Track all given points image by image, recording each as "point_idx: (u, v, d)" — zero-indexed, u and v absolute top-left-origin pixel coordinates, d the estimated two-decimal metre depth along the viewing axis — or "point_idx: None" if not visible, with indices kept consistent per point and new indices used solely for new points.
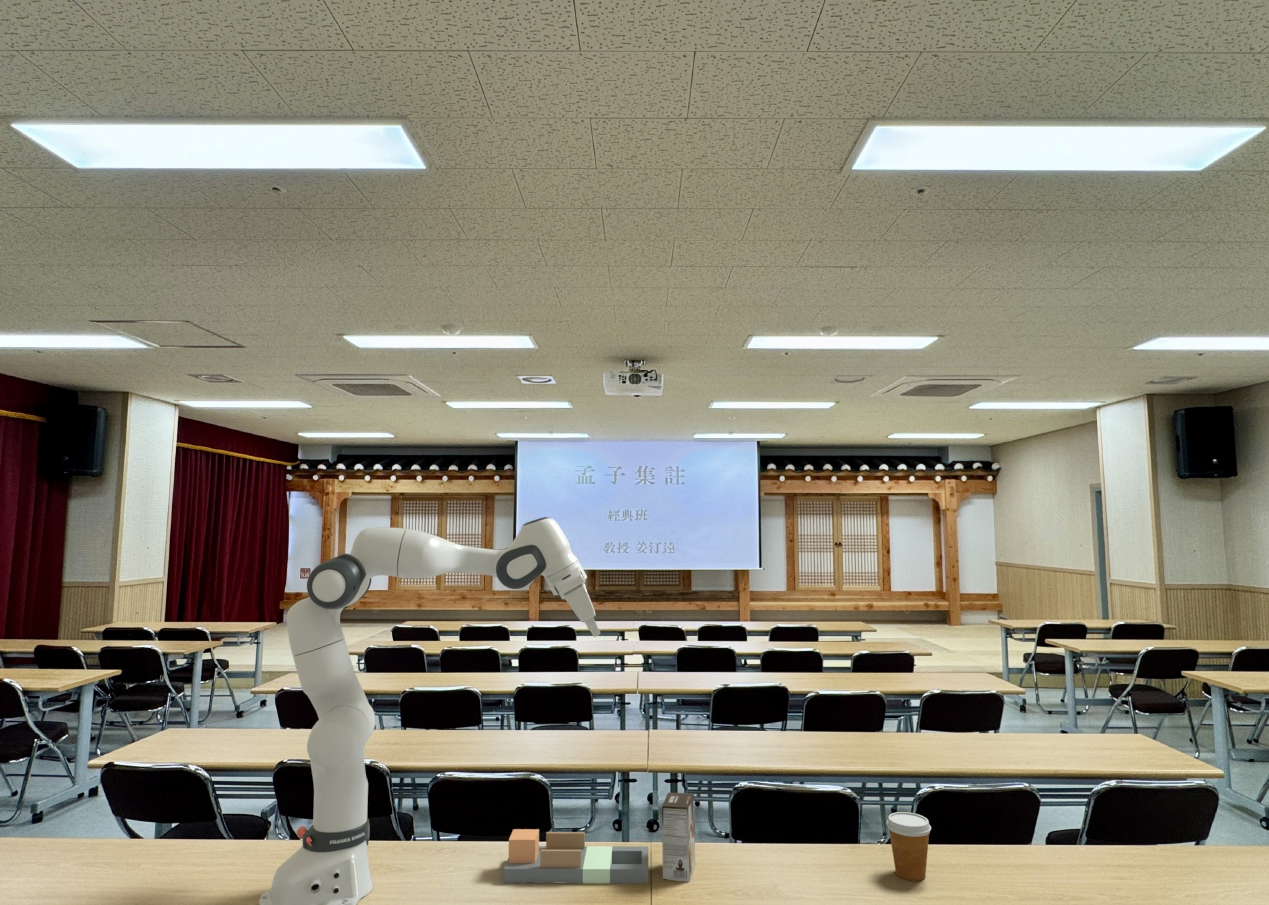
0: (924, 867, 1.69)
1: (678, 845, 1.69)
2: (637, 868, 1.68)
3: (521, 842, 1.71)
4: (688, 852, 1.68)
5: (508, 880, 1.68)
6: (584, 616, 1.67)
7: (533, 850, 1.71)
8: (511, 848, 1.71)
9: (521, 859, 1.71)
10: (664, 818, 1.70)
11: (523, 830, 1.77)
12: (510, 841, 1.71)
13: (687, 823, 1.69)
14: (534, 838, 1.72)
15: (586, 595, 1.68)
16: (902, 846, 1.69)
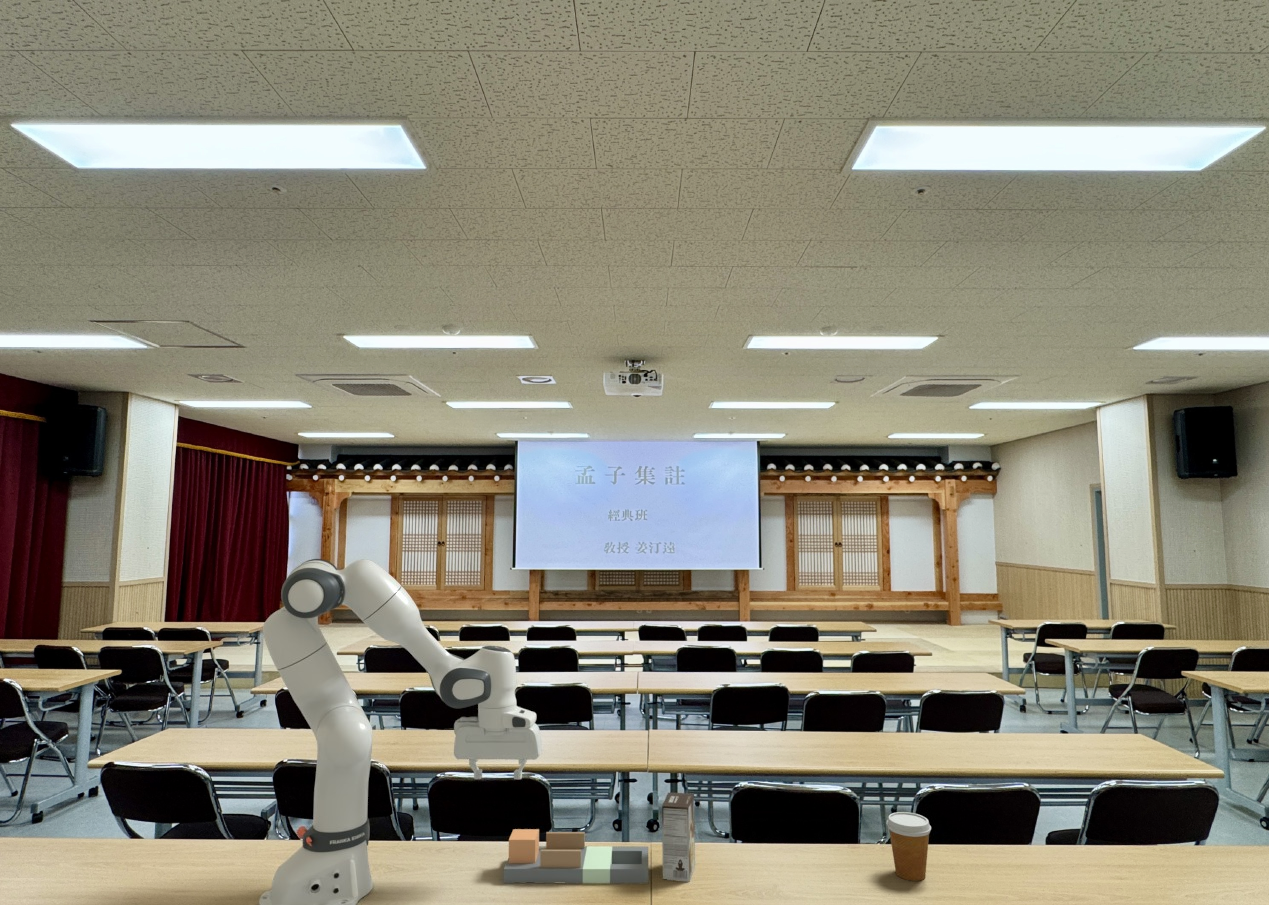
0: (924, 867, 1.69)
1: (678, 845, 1.69)
2: (637, 868, 1.68)
3: (521, 842, 1.71)
4: (688, 852, 1.68)
5: (508, 880, 1.68)
6: (539, 753, 1.74)
7: (533, 850, 1.71)
8: (511, 848, 1.71)
9: (521, 859, 1.71)
10: (664, 818, 1.70)
11: (523, 830, 1.77)
12: (510, 841, 1.71)
13: (687, 823, 1.69)
14: (534, 838, 1.72)
15: None
16: (902, 846, 1.69)
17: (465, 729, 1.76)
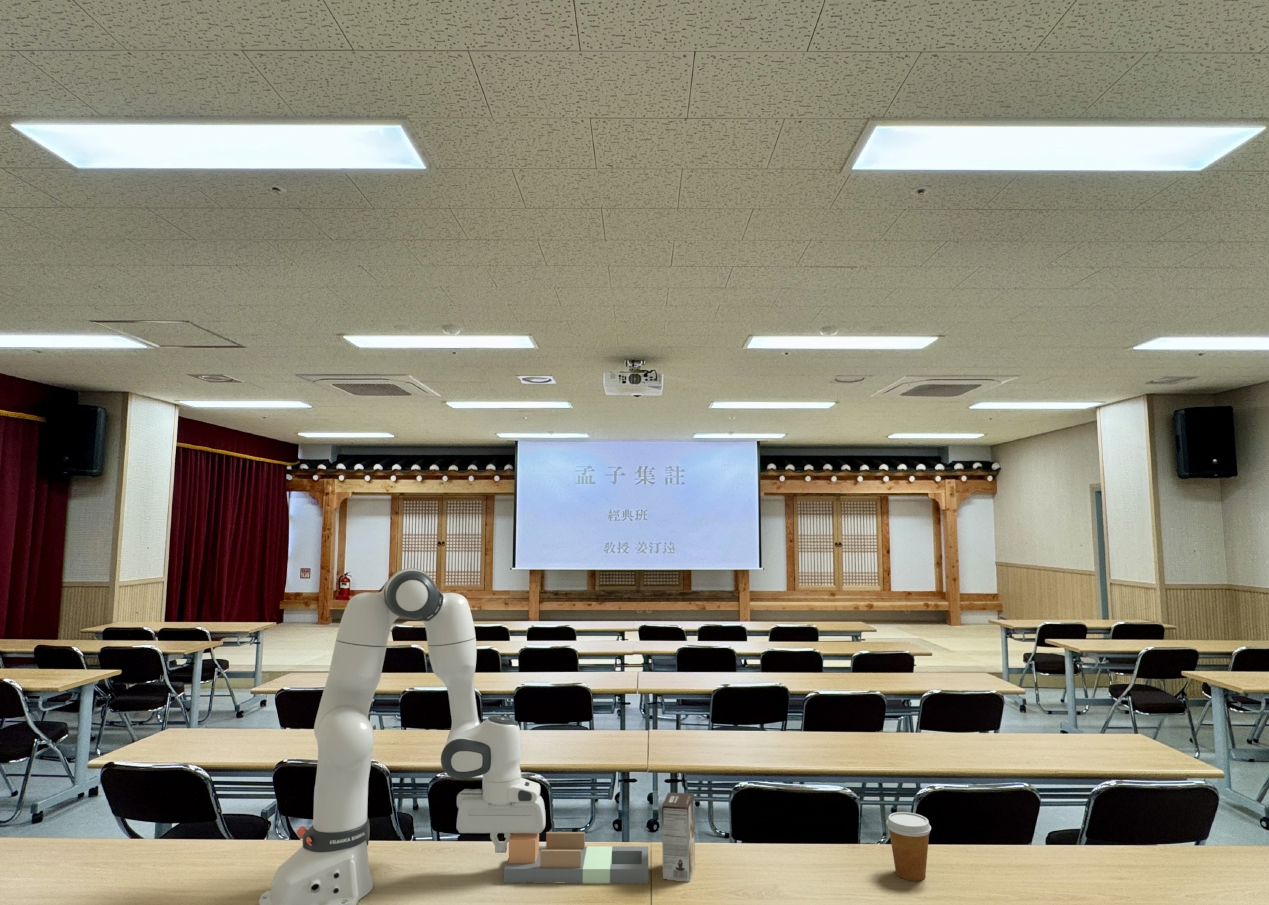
0: (924, 867, 1.69)
1: (678, 845, 1.69)
2: (637, 868, 1.68)
3: (521, 842, 1.71)
4: (688, 852, 1.68)
5: (508, 880, 1.68)
6: (544, 826, 1.74)
7: (533, 850, 1.71)
8: (511, 848, 1.71)
9: (521, 859, 1.71)
10: (664, 817, 1.70)
11: None
12: (510, 841, 1.71)
13: (687, 823, 1.69)
14: (534, 838, 1.72)
15: None
16: (902, 846, 1.69)
17: (469, 802, 1.74)
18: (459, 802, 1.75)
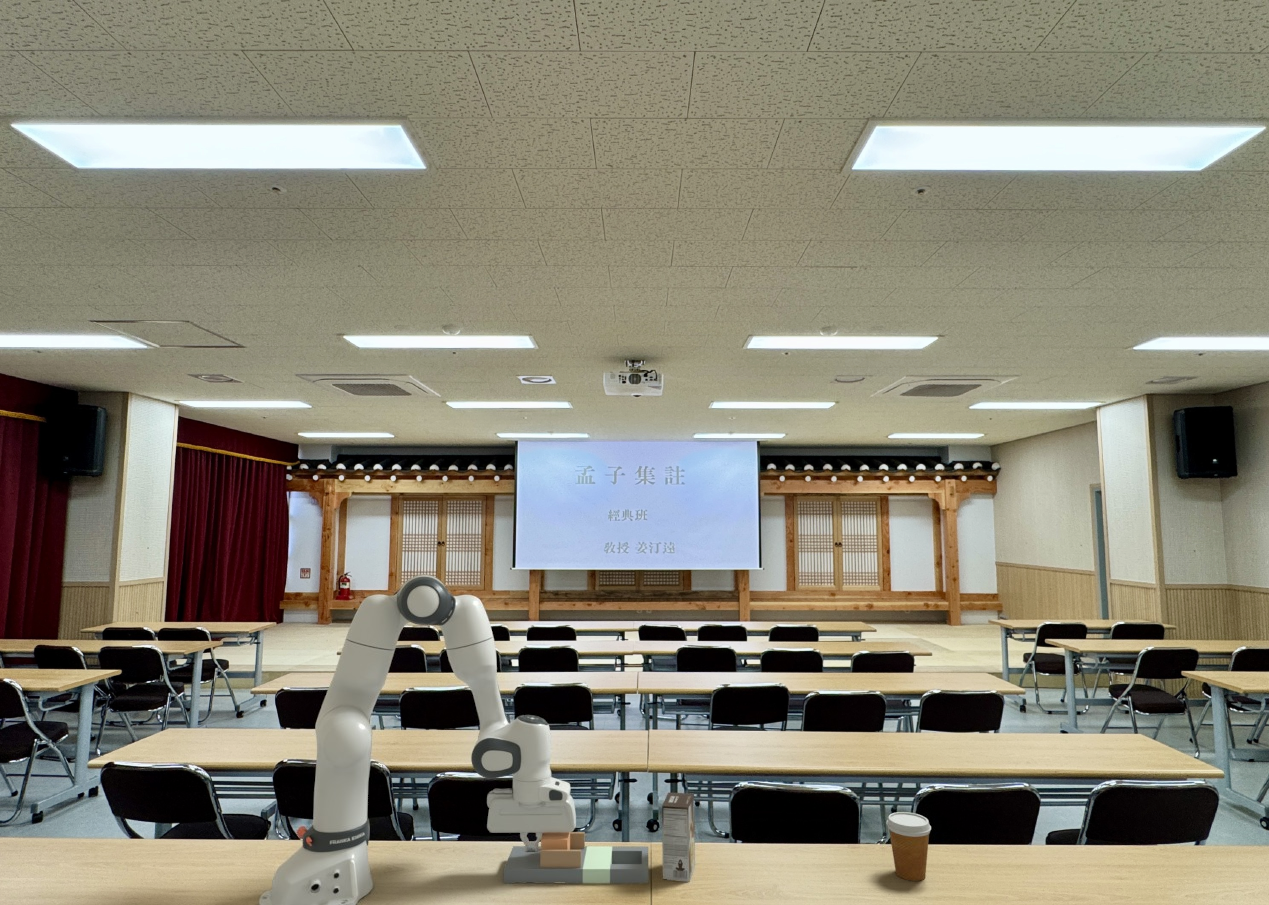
0: (924, 867, 1.69)
1: (678, 845, 1.69)
2: (637, 868, 1.68)
3: (553, 842, 1.71)
4: (688, 852, 1.68)
5: (508, 880, 1.68)
6: (575, 825, 1.74)
7: None
8: (543, 848, 1.71)
9: None
10: (664, 818, 1.70)
11: None
12: (542, 841, 1.71)
13: (687, 823, 1.69)
14: (566, 838, 1.72)
15: None
16: (902, 846, 1.69)
17: (499, 802, 1.74)
18: (489, 802, 1.75)
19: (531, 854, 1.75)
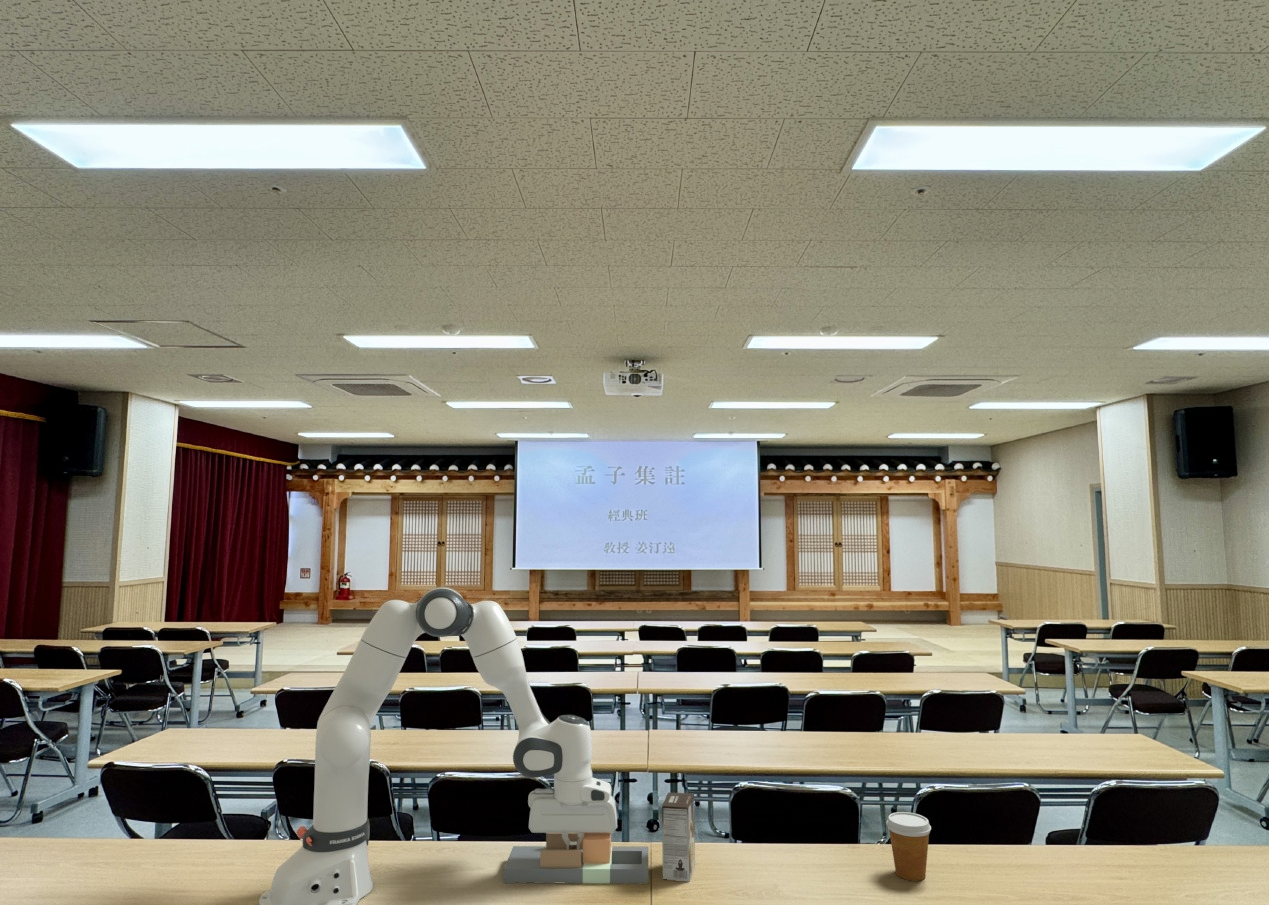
0: (924, 867, 1.69)
1: (678, 845, 1.69)
2: (637, 868, 1.68)
3: (595, 842, 1.71)
4: (688, 852, 1.68)
5: (508, 880, 1.68)
6: (616, 826, 1.74)
7: (607, 850, 1.71)
8: (585, 848, 1.71)
9: (595, 859, 1.71)
10: (664, 818, 1.70)
11: None
12: (584, 841, 1.71)
13: (687, 823, 1.69)
14: (608, 838, 1.72)
15: None
16: (902, 846, 1.69)
17: (541, 802, 1.73)
18: (531, 802, 1.75)
19: (531, 854, 1.75)
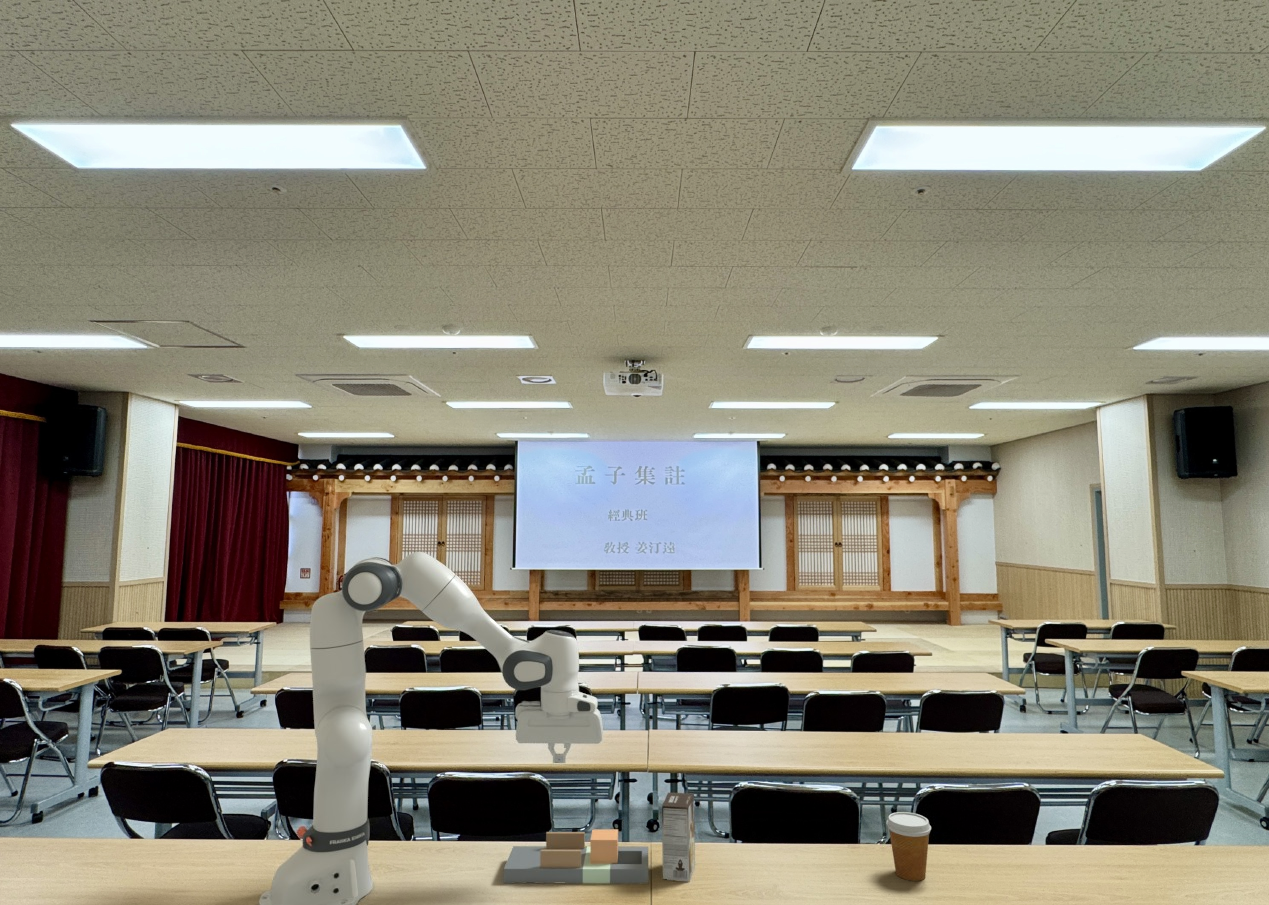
0: (924, 867, 1.69)
1: (678, 845, 1.69)
2: (637, 868, 1.68)
3: (602, 842, 1.71)
4: (688, 852, 1.68)
5: (508, 880, 1.68)
6: (602, 737, 1.76)
7: (615, 850, 1.71)
8: (593, 848, 1.71)
9: (603, 859, 1.71)
10: (664, 817, 1.70)
11: (602, 830, 1.76)
12: (592, 841, 1.71)
13: (687, 823, 1.69)
14: (615, 838, 1.72)
15: (601, 718, 1.79)
16: (902, 846, 1.69)
17: (528, 713, 1.76)
18: (518, 714, 1.77)
19: (531, 854, 1.75)
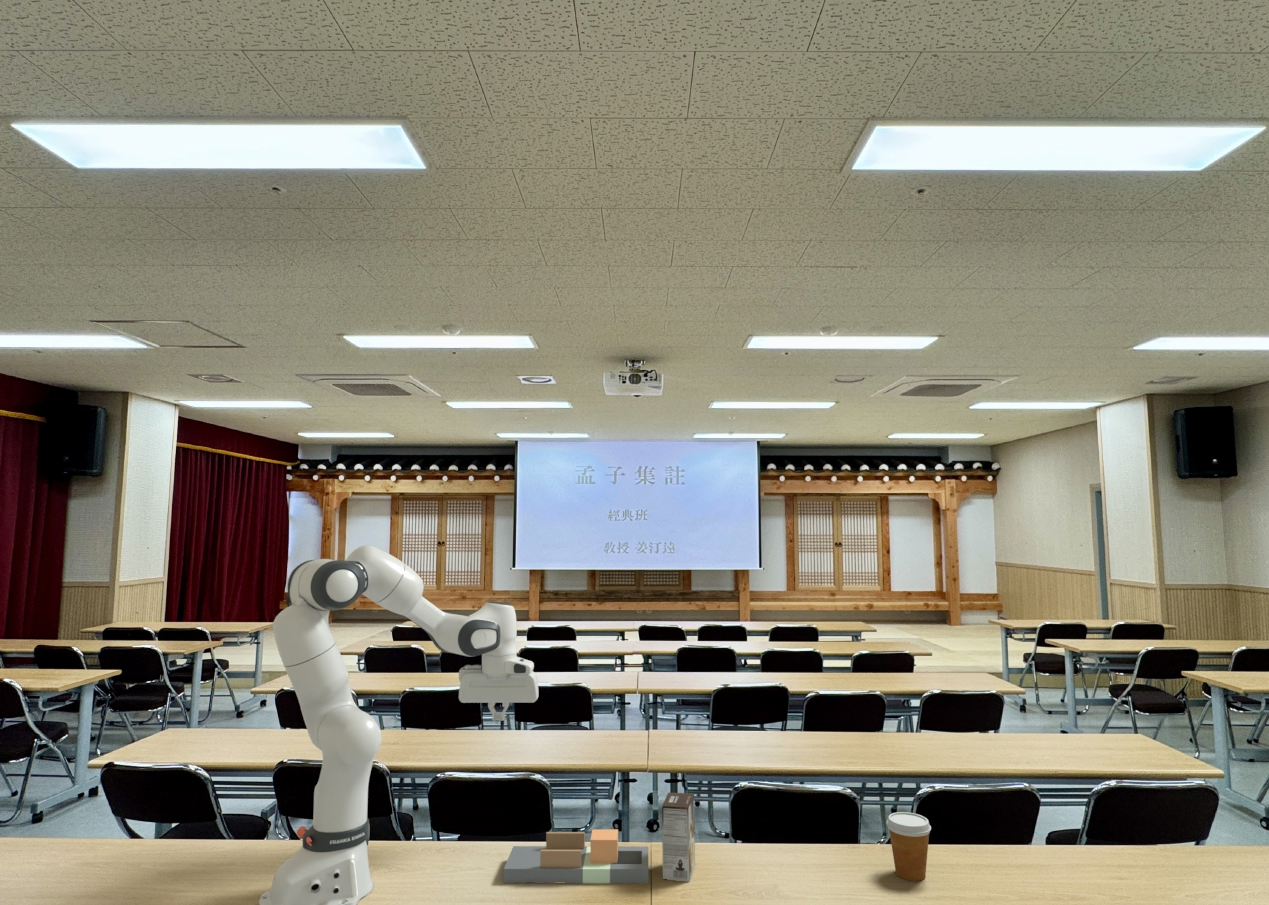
0: (924, 867, 1.69)
1: (678, 845, 1.69)
2: (637, 868, 1.68)
3: (602, 842, 1.71)
4: (688, 852, 1.68)
5: (508, 880, 1.68)
6: (537, 697, 1.94)
7: (615, 850, 1.71)
8: (593, 848, 1.71)
9: (603, 859, 1.71)
10: (664, 818, 1.70)
11: (602, 830, 1.76)
12: (592, 841, 1.71)
13: (687, 823, 1.69)
14: (615, 838, 1.72)
15: None
16: (902, 846, 1.69)
17: (469, 675, 1.94)
18: (461, 676, 1.95)
19: (531, 854, 1.75)
